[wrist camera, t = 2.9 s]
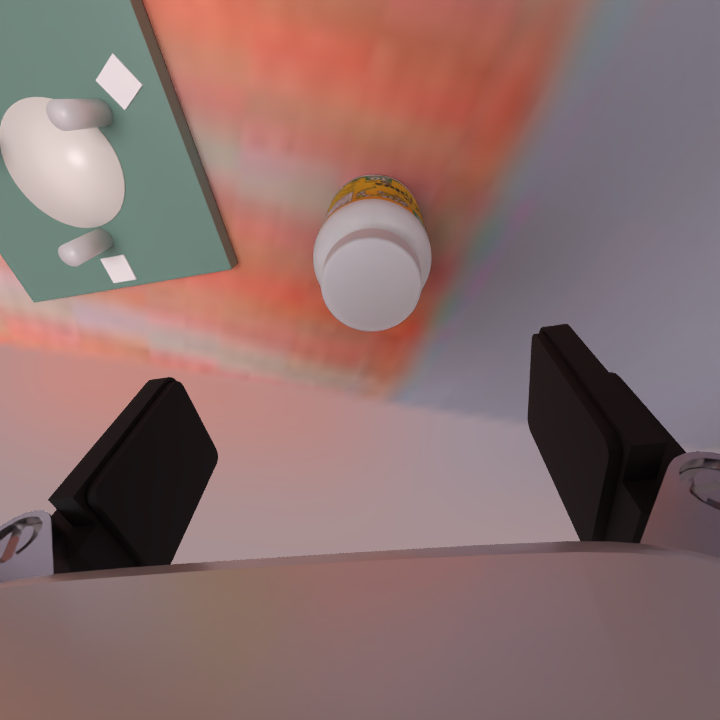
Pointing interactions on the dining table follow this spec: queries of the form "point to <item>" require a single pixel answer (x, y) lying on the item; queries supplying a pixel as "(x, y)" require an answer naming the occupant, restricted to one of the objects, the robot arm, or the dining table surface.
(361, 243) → the supplement bottle
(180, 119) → the board
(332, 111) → the dining table surface
